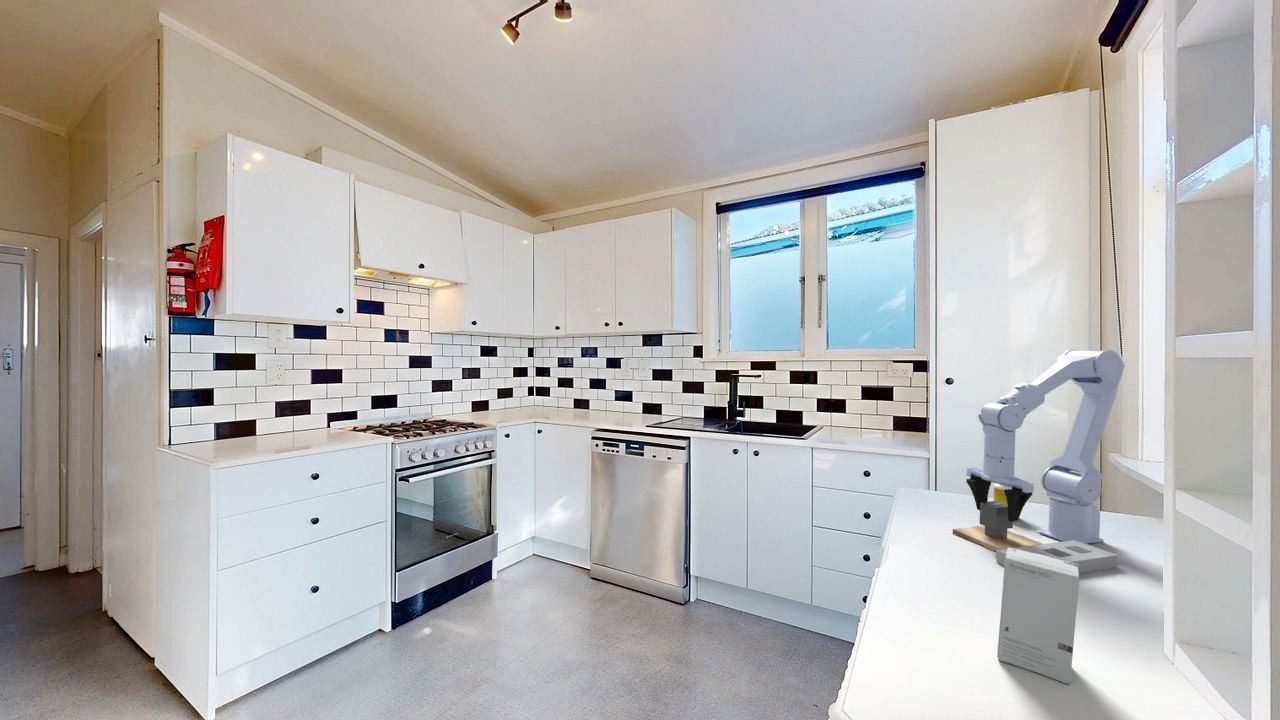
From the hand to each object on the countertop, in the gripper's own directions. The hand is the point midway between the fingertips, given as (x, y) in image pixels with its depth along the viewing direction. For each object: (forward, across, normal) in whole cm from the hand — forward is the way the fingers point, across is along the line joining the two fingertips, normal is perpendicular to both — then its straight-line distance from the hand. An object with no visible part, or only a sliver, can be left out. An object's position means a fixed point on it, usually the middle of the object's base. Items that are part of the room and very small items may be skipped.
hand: (996, 515), depth 115 cm
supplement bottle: (+6, -12, +18) cm, 22 cm away
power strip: (+6, +13, 0) cm, 14 cm away
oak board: (+6, 0, 0) cm, 6 cm away
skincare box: (+6, +36, -37) cm, 52 cm away
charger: (+5, 0, 0) cm, 5 cm away
